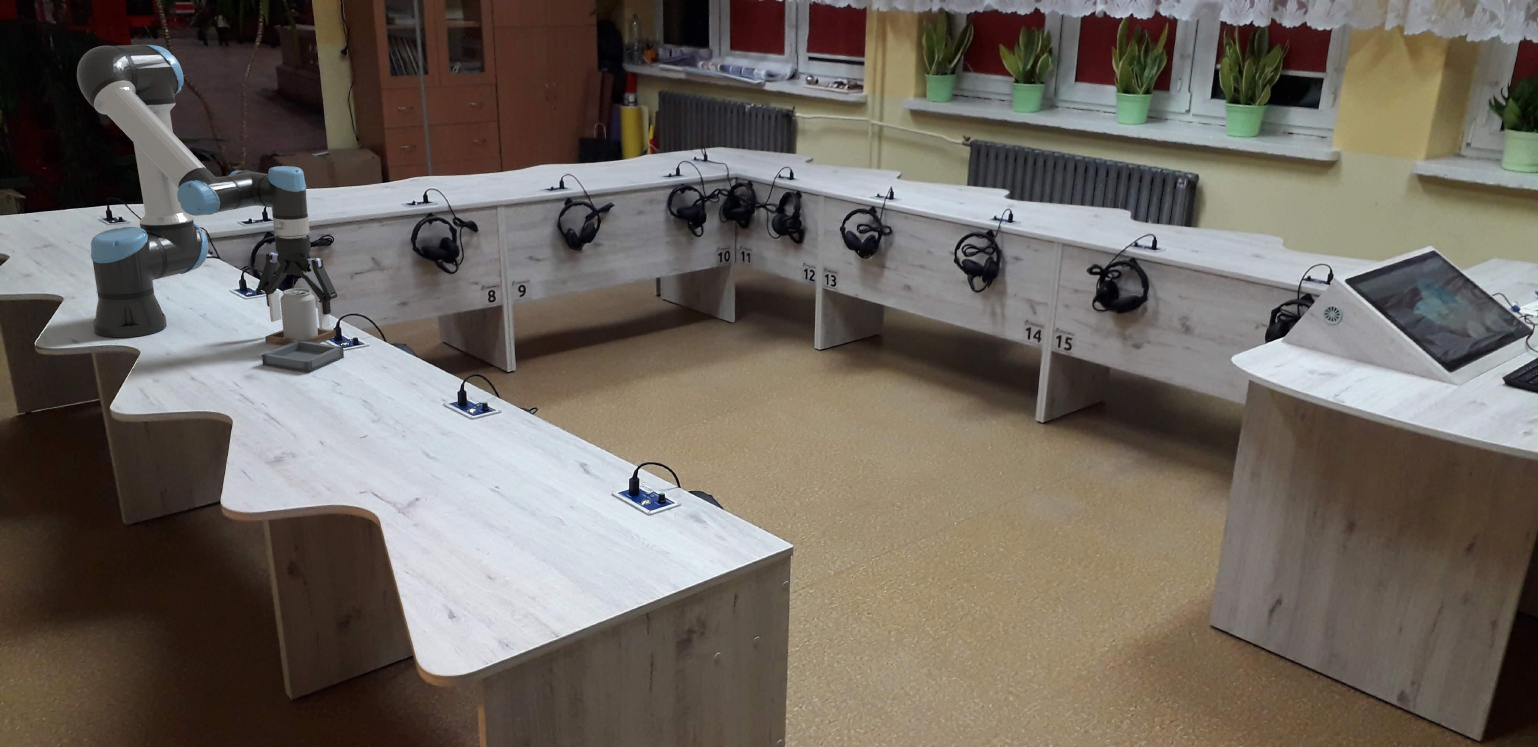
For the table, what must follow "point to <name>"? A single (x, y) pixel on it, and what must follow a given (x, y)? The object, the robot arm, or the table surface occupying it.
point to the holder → (280, 340)
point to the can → (299, 314)
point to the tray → (303, 356)
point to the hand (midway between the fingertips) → (300, 323)
